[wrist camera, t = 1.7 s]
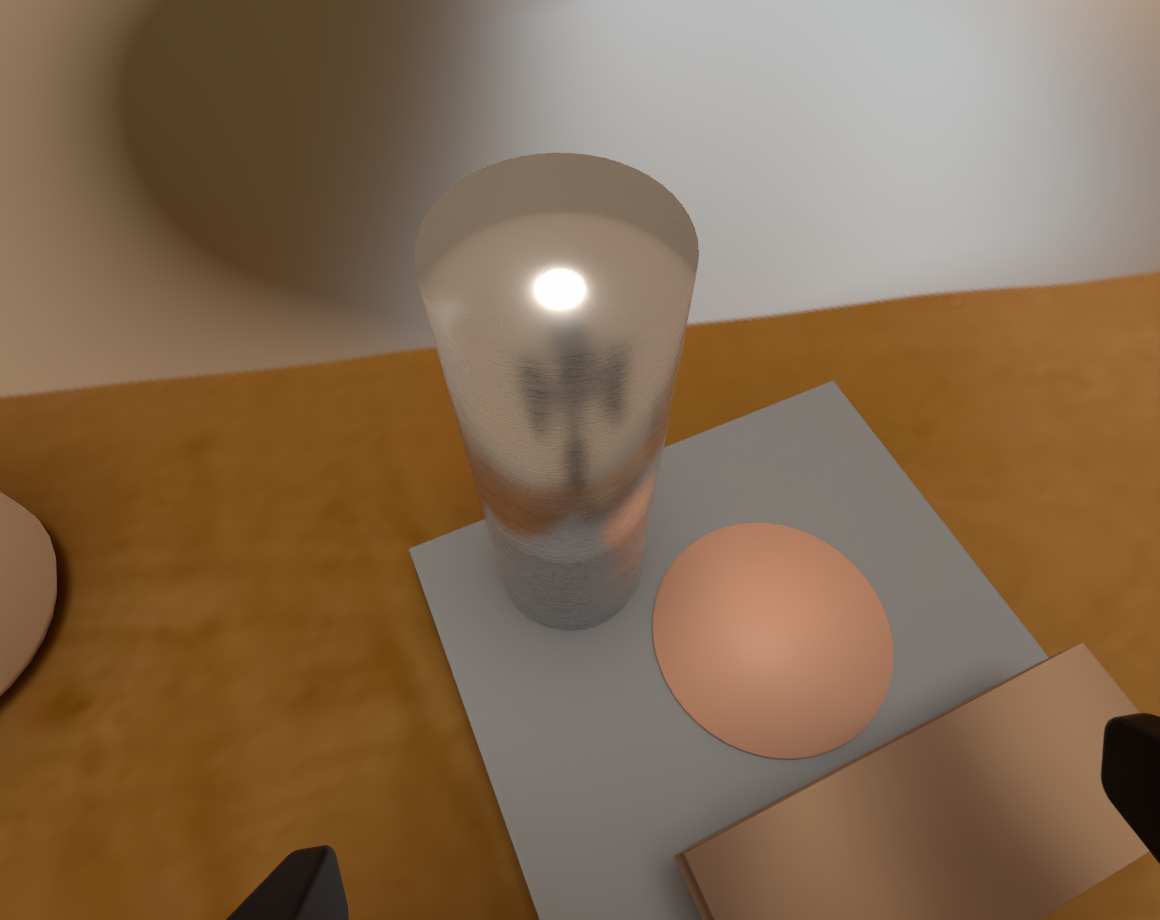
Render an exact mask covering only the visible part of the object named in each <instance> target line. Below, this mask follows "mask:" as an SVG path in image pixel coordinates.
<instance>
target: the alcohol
mask: <svg viewBox="0 0 1160 920" xmlns="http://www.w3.org/2000/svg"><path fill="white" fill-rule="evenodd" d="M56 598H57V572H56V556H55V553H54V549H53V546H52V543H51V539H50V536H49V535H48V533H47V532H46V530H45V529H44V527H43V526H42V524H41V522H40V521H39V520H38V519H37V518H36V517H35V516H34V515H33V514H31V513H30V512H29V511H28V510H27V509H25V508H24V507H23V506H21V505H20V504H18V503H17V502H15V501H14V500H12V499H11V498H9V497H8V496H6V495H5V494H3V493H1V492H0V696H1V695H3V694H4V693H5V692H6V691H7V690H8V689H9V688H10V687H11V686H12V685H13V684H14V682H15V681H16V680H17V679H18V677H19V676H20V675H21V674H22V672H23V671H24V670H25V669H26V667H27V666H28V665H29V664H30V662H31V661H32V659H33V657H34V655H35V654H36V652H37V650H38V649H39V647H40V645H41V644H42V642H43V640H44V638H45V636H46V633H47V630H48V628H49V625H50V623H51V620H52V618H53V614H54V609H55V603H56Z"/></svg>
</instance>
